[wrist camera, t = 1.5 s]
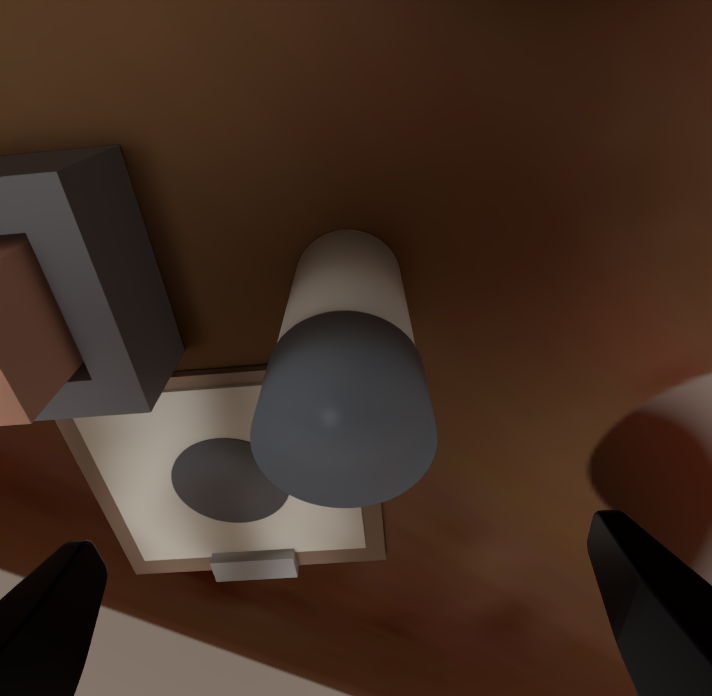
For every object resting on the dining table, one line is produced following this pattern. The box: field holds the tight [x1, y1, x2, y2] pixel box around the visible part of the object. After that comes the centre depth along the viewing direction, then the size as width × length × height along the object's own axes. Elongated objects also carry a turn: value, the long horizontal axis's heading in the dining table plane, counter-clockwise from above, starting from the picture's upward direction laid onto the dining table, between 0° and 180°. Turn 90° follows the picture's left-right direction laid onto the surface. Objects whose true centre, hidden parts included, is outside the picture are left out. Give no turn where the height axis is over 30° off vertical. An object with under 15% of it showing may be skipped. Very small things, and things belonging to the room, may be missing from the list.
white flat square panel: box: [54, 365, 386, 582], centre depth 24 cm, size 14×13×1 cm
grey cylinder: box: [250, 229, 438, 508], centre depth 15 cm, size 4×4×9 cm
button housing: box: [0, 144, 185, 421], centre depth 17 cm, size 8×8×4 cm
